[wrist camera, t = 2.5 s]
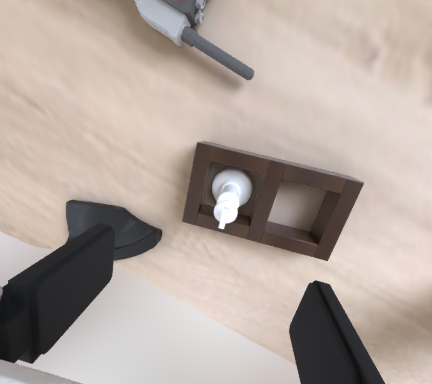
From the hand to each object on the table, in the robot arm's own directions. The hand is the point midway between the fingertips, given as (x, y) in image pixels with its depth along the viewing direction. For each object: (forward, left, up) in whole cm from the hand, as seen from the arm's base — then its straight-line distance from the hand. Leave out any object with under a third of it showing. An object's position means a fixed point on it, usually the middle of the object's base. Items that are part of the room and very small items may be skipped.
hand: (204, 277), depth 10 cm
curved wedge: (+15, +11, -16) cm, 25 cm away
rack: (-4, 0, -16) cm, 17 cm away
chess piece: (0, 0, -16) cm, 16 cm away
